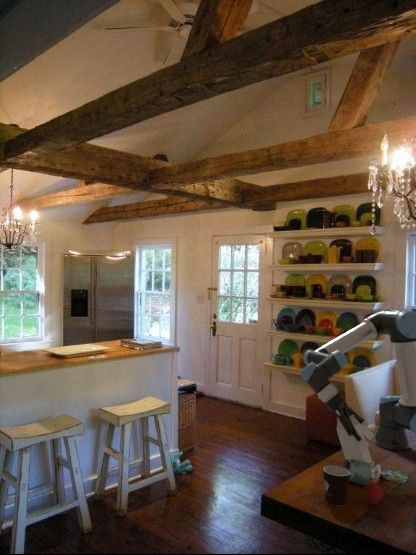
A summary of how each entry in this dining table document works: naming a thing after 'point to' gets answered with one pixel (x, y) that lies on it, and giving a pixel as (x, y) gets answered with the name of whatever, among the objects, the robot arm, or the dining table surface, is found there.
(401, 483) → the dining table surface
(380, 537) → the dining table surface
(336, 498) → the coffee mug
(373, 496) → the onion
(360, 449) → the milk carton
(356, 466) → the motor
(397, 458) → the dining table surface
